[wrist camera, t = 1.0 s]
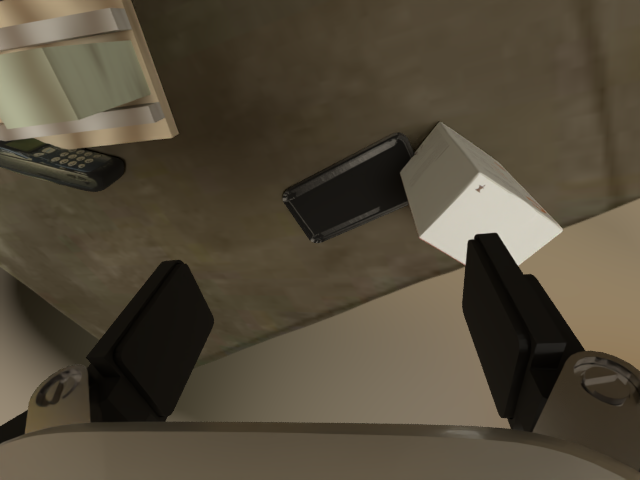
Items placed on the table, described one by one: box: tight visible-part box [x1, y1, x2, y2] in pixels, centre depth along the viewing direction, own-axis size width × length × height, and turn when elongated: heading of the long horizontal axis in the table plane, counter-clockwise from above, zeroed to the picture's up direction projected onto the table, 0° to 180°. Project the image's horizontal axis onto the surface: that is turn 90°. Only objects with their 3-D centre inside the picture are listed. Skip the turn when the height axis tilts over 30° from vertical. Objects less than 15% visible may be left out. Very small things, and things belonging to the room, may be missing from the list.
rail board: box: [0, 0, 179, 150], centre depth 28 cm, size 20×13×12 cm, turn 97°
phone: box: [283, 133, 415, 243], centre depth 37 cm, size 8×1×15 cm
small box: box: [400, 122, 563, 266], centre depth 29 cm, size 8×6×13 cm
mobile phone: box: [0, 138, 124, 192], centre depth 35 cm, size 5×3×15 cm
